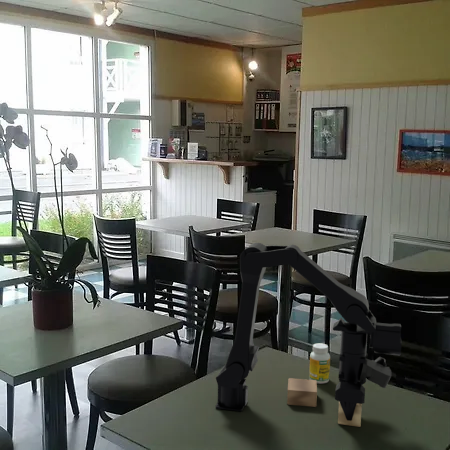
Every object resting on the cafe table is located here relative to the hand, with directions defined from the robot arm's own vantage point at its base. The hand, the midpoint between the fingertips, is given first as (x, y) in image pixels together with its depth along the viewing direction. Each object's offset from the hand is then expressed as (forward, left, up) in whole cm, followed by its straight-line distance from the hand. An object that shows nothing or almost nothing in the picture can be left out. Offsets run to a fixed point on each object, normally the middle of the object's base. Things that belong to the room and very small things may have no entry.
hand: (349, 414), depth 132 cm
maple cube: (0, 0, -1) cm, 1 cm away
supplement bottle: (-9, +21, -2) cm, 23 cm away
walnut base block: (-12, +8, -2) cm, 15 cm away
